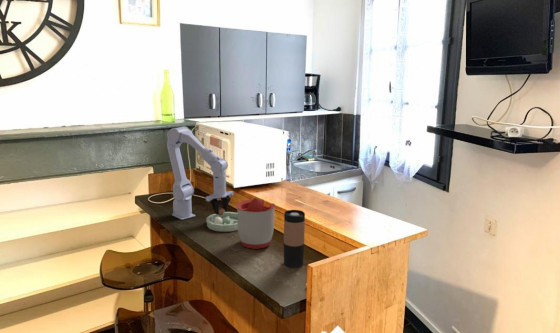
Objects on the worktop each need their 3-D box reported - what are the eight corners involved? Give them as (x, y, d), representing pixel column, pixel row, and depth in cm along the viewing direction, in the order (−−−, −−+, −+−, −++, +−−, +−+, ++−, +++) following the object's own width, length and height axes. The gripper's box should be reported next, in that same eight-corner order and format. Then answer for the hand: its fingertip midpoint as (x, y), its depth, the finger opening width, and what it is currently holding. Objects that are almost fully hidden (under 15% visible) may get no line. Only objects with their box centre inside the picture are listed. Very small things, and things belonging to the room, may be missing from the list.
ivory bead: (219, 223, 190) (218, 215, 189) (224, 225, 187) (223, 216, 186) (212, 225, 187) (211, 217, 186) (217, 227, 184) (216, 218, 183)
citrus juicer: (285, 242, 170) (286, 197, 166) (254, 255, 158) (254, 206, 154) (260, 232, 181) (260, 189, 177) (229, 243, 169) (228, 197, 165)
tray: (199, 224, 190) (199, 218, 190) (230, 215, 203) (230, 209, 202) (222, 235, 178) (222, 228, 177) (253, 224, 190) (253, 218, 189)
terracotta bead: (219, 217, 190) (219, 209, 189) (214, 215, 193) (214, 207, 192) (226, 215, 193) (226, 207, 192) (221, 213, 195) (221, 205, 195)
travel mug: (282, 259, 155) (283, 209, 151) (302, 258, 156) (303, 209, 151) (284, 268, 148) (285, 216, 143) (305, 268, 148) (306, 216, 144)
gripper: (211, 189, 182) (212, 218, 185) (237, 183, 192) (237, 211, 195) (202, 186, 187) (203, 214, 190) (228, 181, 197) (228, 207, 200)
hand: (220, 212), depth 192 cm, fingers closed on terracotta bead, 4 cm apart
